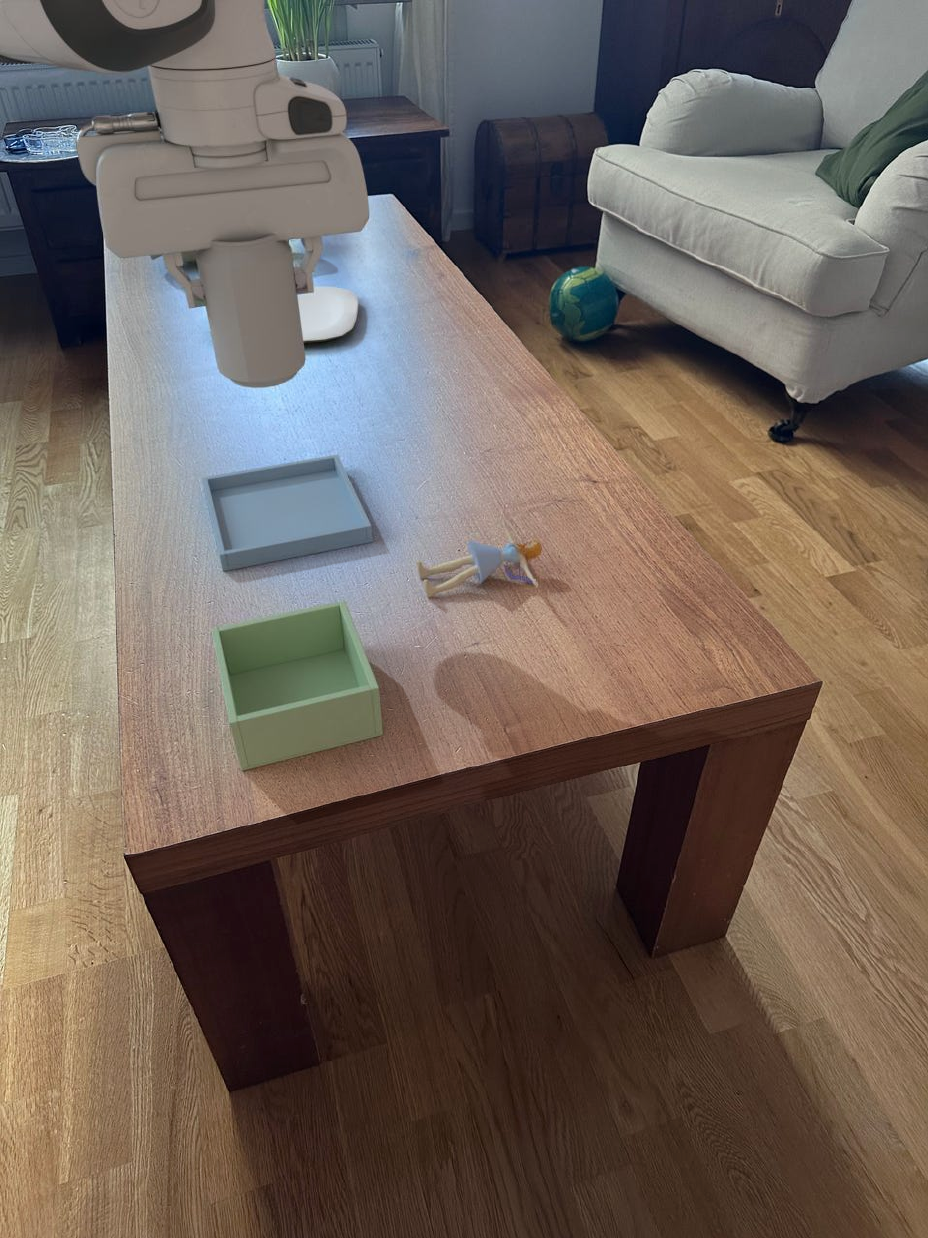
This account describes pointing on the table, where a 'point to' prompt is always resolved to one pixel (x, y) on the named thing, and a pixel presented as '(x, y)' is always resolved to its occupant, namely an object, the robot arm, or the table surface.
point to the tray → (284, 512)
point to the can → (253, 310)
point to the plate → (327, 313)
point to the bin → (296, 684)
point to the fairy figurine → (483, 563)
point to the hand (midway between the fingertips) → (251, 298)
